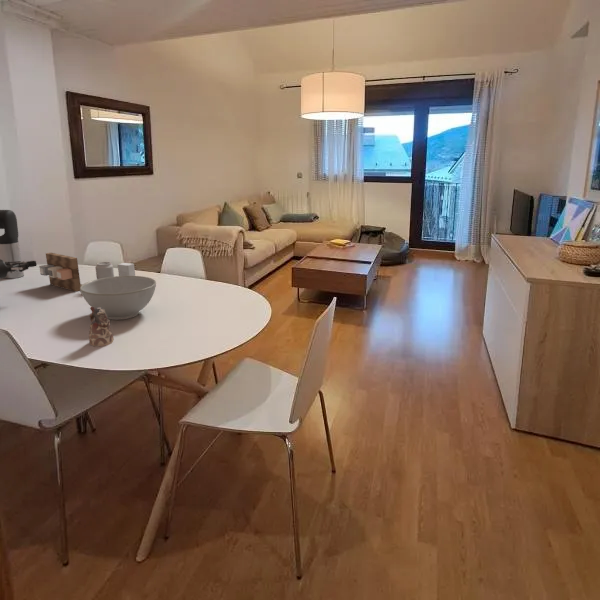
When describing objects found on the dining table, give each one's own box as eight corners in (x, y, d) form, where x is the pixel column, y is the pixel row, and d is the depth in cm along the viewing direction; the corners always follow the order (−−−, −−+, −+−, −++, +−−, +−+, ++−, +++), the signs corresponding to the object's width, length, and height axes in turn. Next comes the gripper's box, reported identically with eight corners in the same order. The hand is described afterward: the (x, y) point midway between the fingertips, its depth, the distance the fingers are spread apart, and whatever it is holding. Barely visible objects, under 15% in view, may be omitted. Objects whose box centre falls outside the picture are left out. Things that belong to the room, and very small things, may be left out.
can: (118, 286, 213) (115, 261, 210) (110, 290, 206) (107, 264, 203) (103, 285, 214) (100, 260, 211) (94, 290, 207) (91, 264, 204)
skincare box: (136, 288, 210) (134, 263, 206) (130, 291, 206) (128, 265, 202) (126, 287, 212) (123, 262, 208) (119, 289, 208) (117, 264, 204)
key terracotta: (56, 279, 202) (55, 270, 200) (70, 276, 207) (69, 267, 206) (61, 280, 199) (60, 271, 198) (75, 277, 205) (74, 268, 203)
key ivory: (48, 276, 205) (46, 268, 204) (61, 274, 210) (60, 265, 209) (53, 278, 203) (51, 269, 202) (66, 275, 208) (65, 266, 207)
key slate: (39, 274, 209) (38, 266, 208) (53, 272, 214) (52, 263, 213) (44, 275, 207) (43, 267, 206) (58, 273, 212) (56, 264, 211)
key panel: (50, 284, 215) (45, 253, 211) (63, 281, 220) (59, 251, 216) (76, 291, 204) (71, 258, 200) (89, 288, 210) (85, 256, 205)
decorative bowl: (170, 306, 184) (168, 277, 181) (134, 329, 159) (131, 296, 156) (111, 302, 190) (108, 273, 186) (67, 323, 165) (63, 291, 161)
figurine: (100, 347, 143) (96, 311, 140) (84, 344, 146) (79, 308, 142) (118, 340, 149) (114, 305, 146) (102, 336, 152) (98, 302, 149)
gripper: (-17, 277, 181) (28, 270, 195) (0, 282, 174) (45, 273, 188) (-20, 259, 179) (25, 252, 193) (-4, 262, 172) (42, 256, 186)
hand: (35, 263), depth 190 cm, fingers closed
